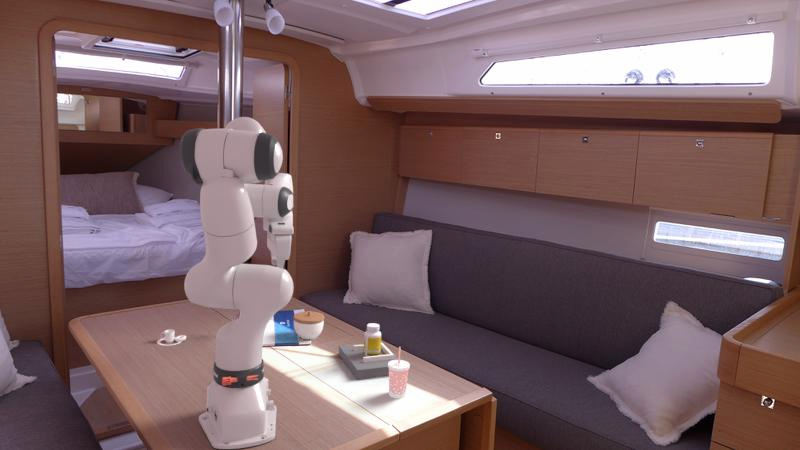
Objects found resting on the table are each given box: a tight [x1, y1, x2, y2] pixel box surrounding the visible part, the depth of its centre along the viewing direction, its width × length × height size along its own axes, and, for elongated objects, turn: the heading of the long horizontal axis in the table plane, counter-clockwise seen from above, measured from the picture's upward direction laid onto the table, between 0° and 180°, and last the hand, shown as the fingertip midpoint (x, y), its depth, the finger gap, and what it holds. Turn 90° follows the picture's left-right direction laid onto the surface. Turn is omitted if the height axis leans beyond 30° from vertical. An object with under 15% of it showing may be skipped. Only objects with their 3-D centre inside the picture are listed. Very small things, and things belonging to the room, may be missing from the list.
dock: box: [338, 341, 398, 381], centre depth 174 cm, size 20×15×4 cm
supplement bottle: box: [363, 322, 382, 357], centre depth 173 cm, size 5×5×10 cm
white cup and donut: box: [156, 329, 187, 347], centre depth 184 cm, size 9×8×4 cm
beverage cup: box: [388, 346, 411, 399], centre depth 153 cm, size 6×6×14 cm
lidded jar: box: [293, 310, 325, 341], centre depth 194 cm, size 11×11×9 cm
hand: (277, 268), depth 172 cm, fingers open, 8 cm apart
